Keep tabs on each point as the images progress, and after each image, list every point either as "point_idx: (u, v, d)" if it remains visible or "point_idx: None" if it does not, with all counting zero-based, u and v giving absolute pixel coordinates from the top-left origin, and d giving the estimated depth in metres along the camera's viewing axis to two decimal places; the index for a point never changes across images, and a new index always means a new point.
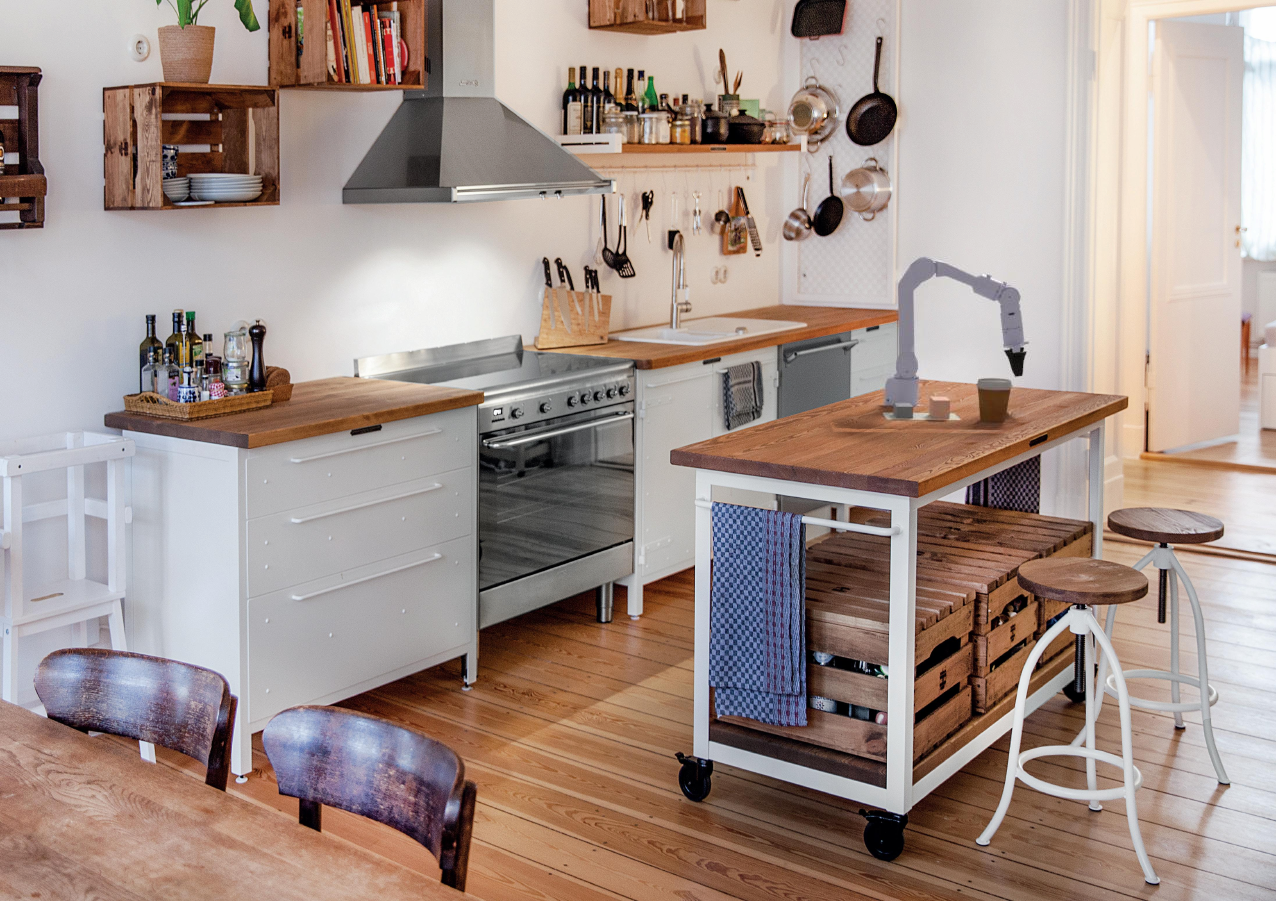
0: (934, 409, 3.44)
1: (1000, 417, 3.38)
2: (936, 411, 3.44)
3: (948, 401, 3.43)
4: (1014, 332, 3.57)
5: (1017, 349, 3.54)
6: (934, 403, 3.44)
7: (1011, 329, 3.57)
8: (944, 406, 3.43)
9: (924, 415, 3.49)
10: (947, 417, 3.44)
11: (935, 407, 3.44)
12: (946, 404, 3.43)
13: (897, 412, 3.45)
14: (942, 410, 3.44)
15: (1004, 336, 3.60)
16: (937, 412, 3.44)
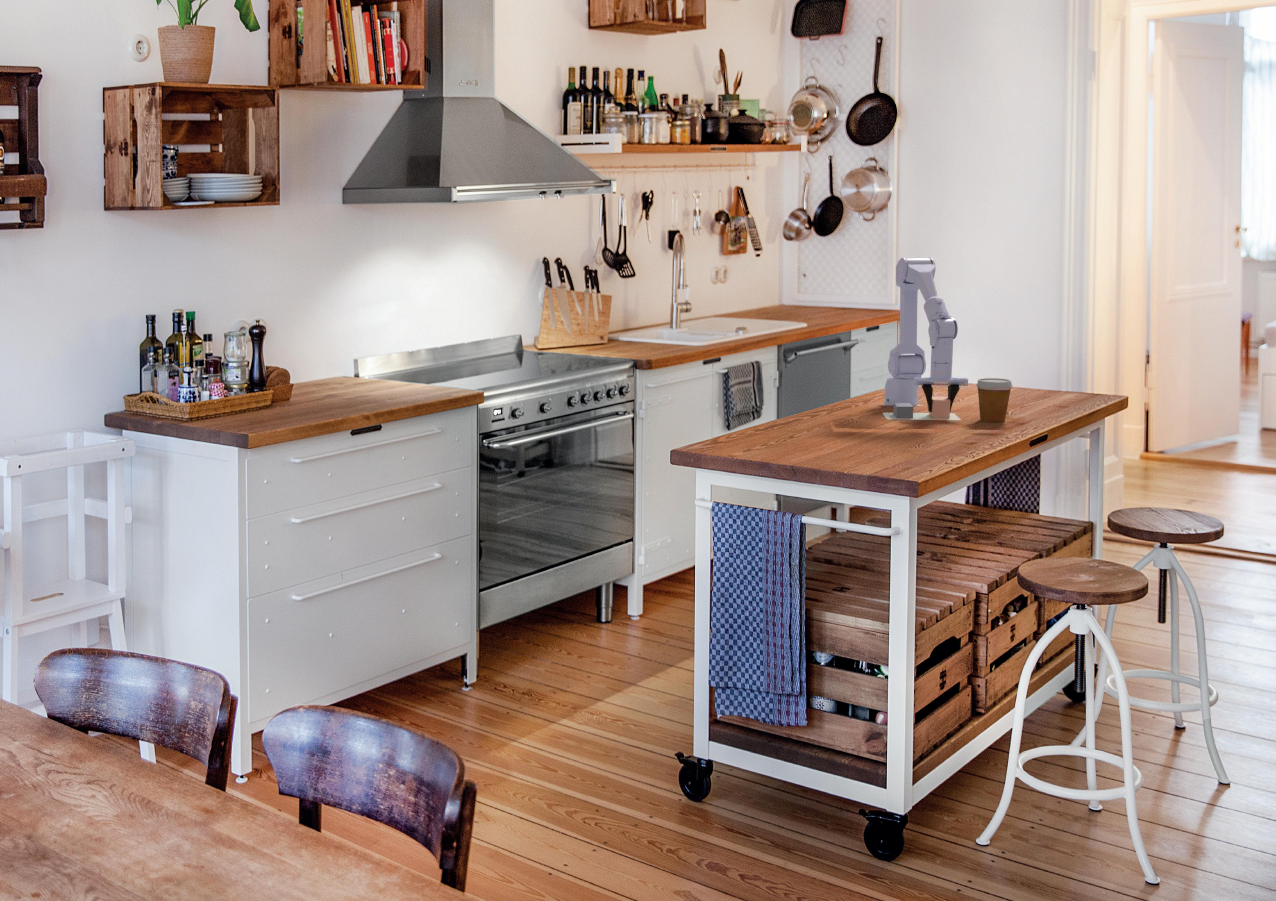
0: (934, 409, 3.44)
1: (1000, 417, 3.38)
2: (936, 411, 3.44)
3: (948, 401, 3.43)
4: (931, 366, 3.45)
5: (914, 382, 3.46)
6: (934, 403, 3.44)
7: (931, 362, 3.45)
8: (944, 406, 3.43)
9: (924, 415, 3.49)
10: (947, 417, 3.44)
11: (935, 407, 3.44)
12: (946, 404, 3.43)
13: (897, 412, 3.45)
14: (942, 410, 3.44)
15: None
16: (937, 412, 3.44)
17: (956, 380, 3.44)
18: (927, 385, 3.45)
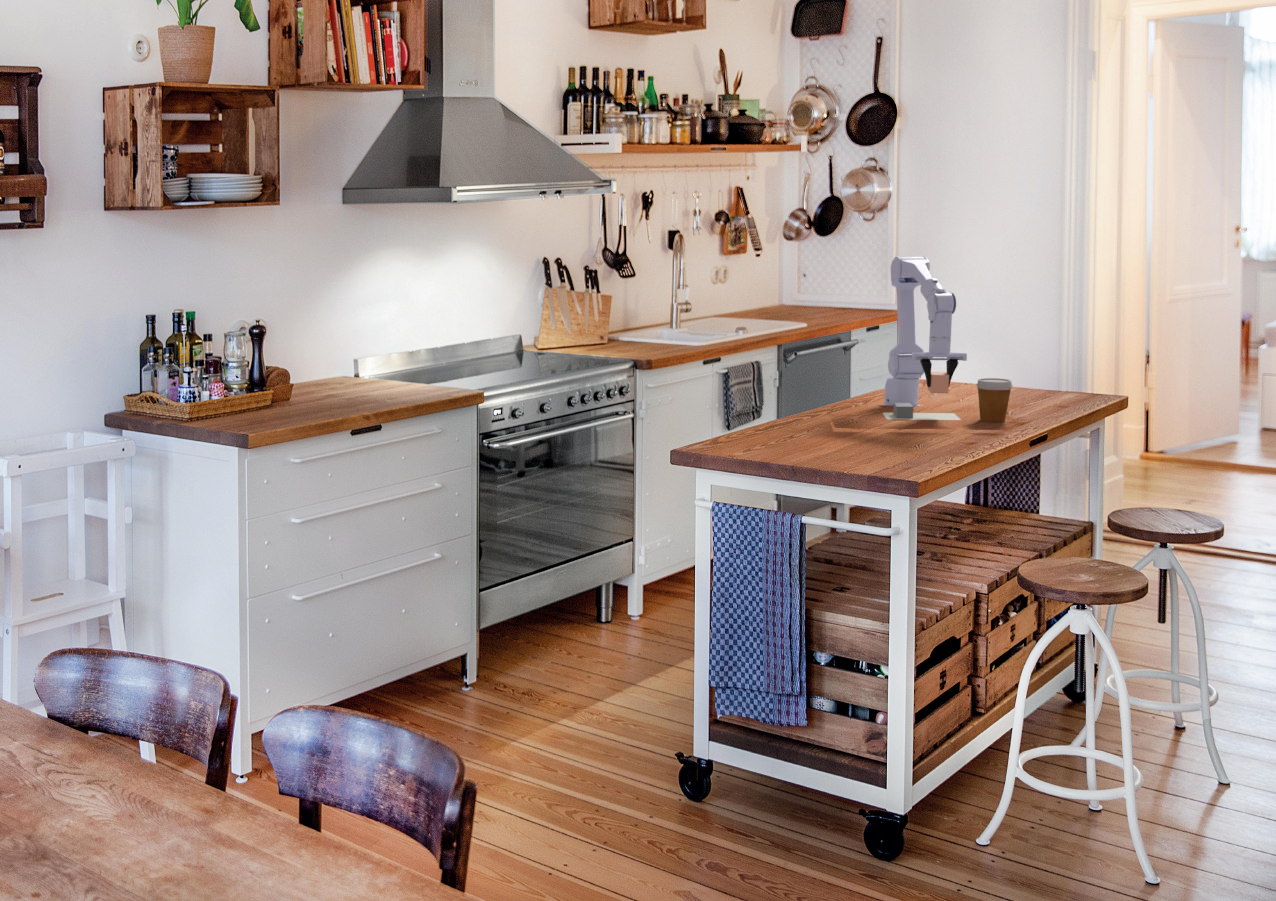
0: (933, 383, 3.43)
1: (1000, 417, 3.38)
2: (935, 386, 3.43)
3: (947, 376, 3.42)
4: (929, 341, 3.44)
5: (912, 357, 3.45)
6: (933, 378, 3.42)
7: None
8: (943, 380, 3.42)
9: (924, 415, 3.49)
10: (946, 392, 3.43)
11: (934, 382, 3.42)
12: (945, 379, 3.42)
13: (897, 412, 3.45)
14: (941, 385, 3.42)
15: None
16: (936, 386, 3.43)
17: (955, 355, 3.42)
18: (926, 360, 3.44)
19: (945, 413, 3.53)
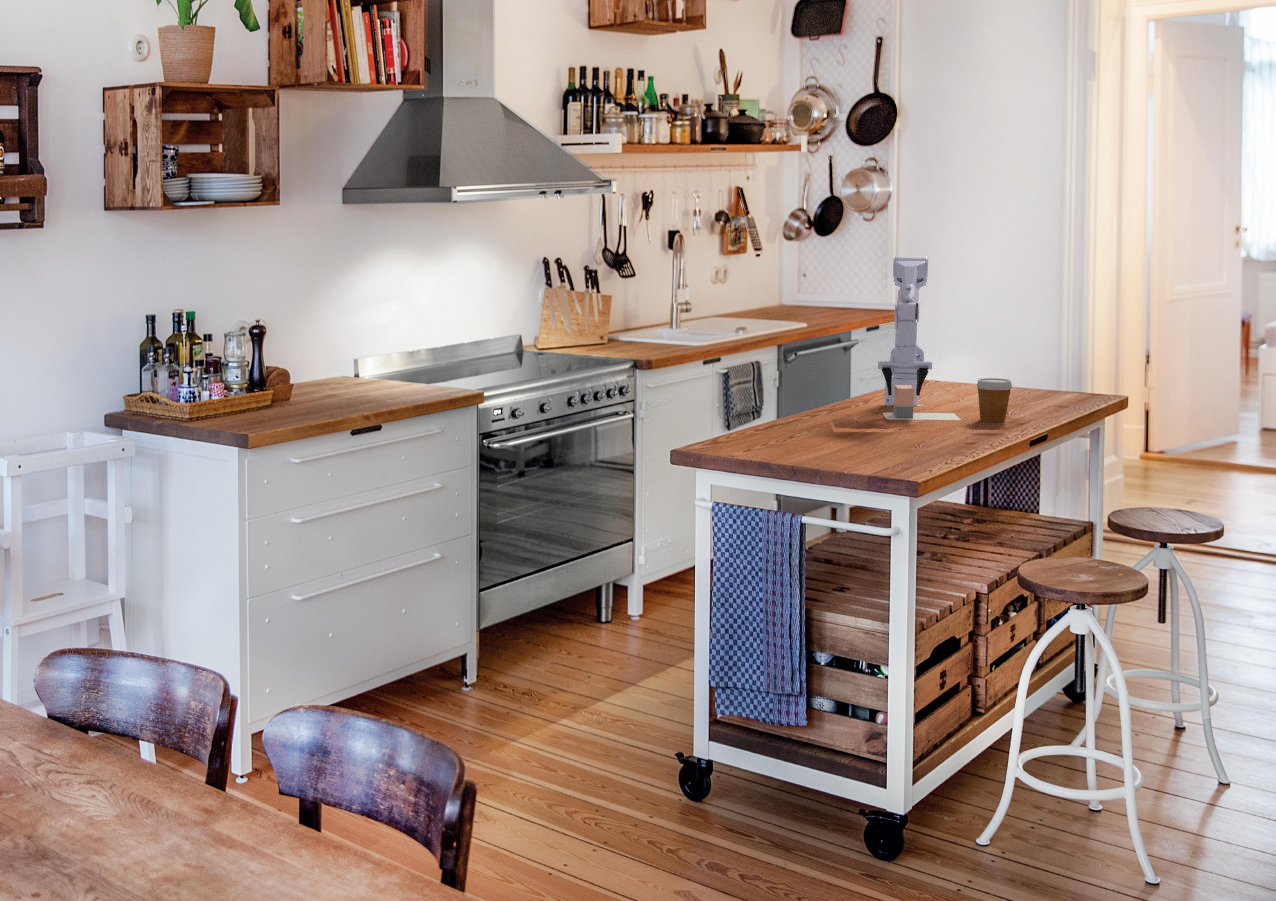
0: (898, 397, 3.44)
1: (1000, 417, 3.38)
2: (900, 399, 3.44)
3: (912, 389, 3.43)
4: (895, 350, 3.45)
5: (878, 365, 3.46)
6: (898, 391, 3.44)
7: (895, 346, 3.45)
8: (908, 394, 3.44)
9: (924, 415, 3.49)
10: (911, 405, 3.44)
11: (899, 395, 3.44)
12: (910, 393, 3.43)
13: (897, 412, 3.45)
14: (906, 398, 3.44)
15: None
16: (901, 400, 3.44)
17: (920, 363, 3.44)
18: (891, 368, 3.45)
19: (945, 413, 3.53)
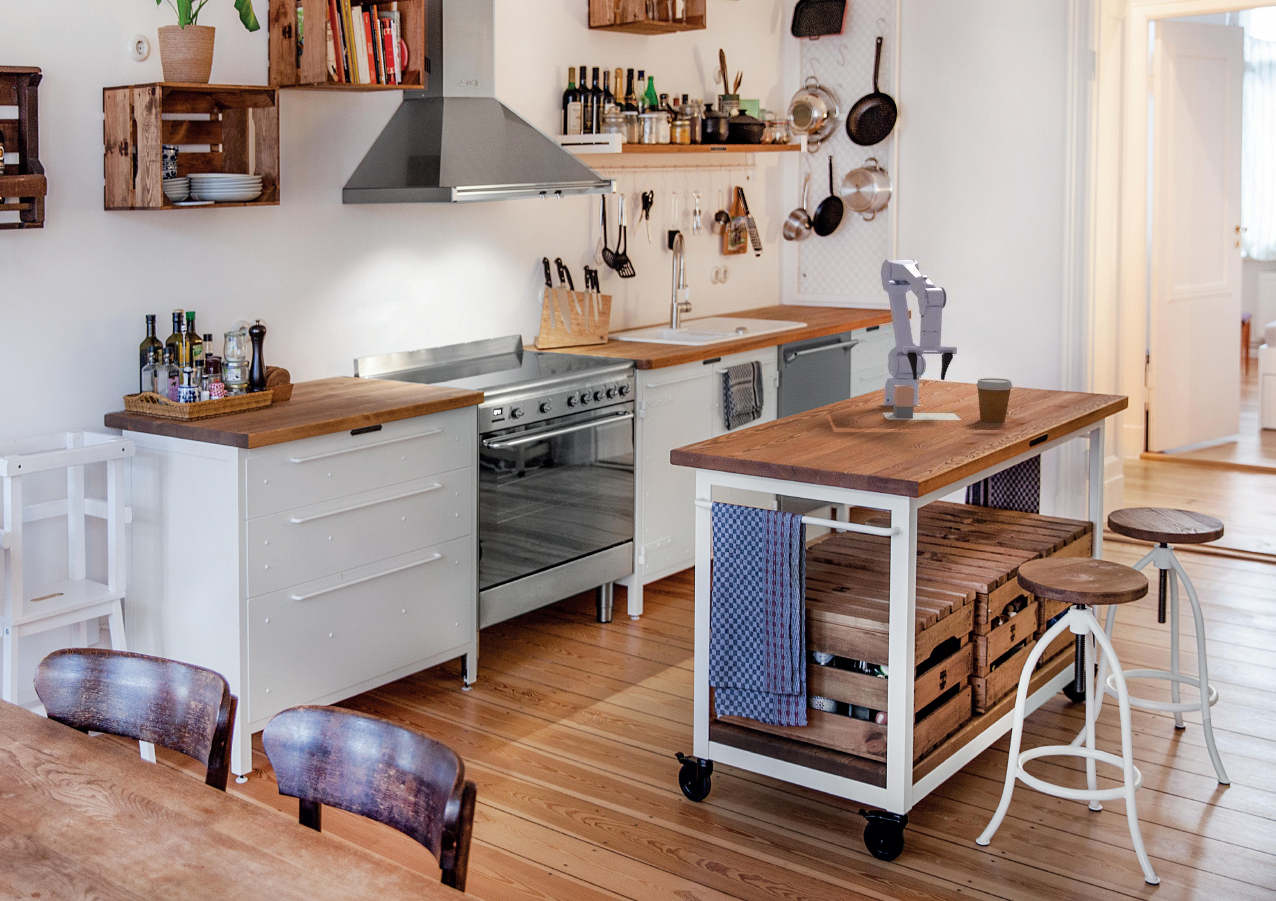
0: (898, 397, 3.44)
1: (1000, 417, 3.38)
2: (900, 399, 3.44)
3: (912, 389, 3.43)
4: (920, 335, 3.50)
5: (903, 350, 3.52)
6: (898, 391, 3.44)
7: (920, 331, 3.51)
8: (908, 394, 3.44)
9: (924, 415, 3.49)
10: (911, 405, 3.44)
11: (899, 395, 3.44)
12: (910, 393, 3.43)
13: (897, 412, 3.45)
14: (906, 398, 3.44)
15: None
16: (901, 400, 3.44)
17: (945, 348, 3.49)
18: (916, 353, 3.51)
19: (945, 413, 3.53)
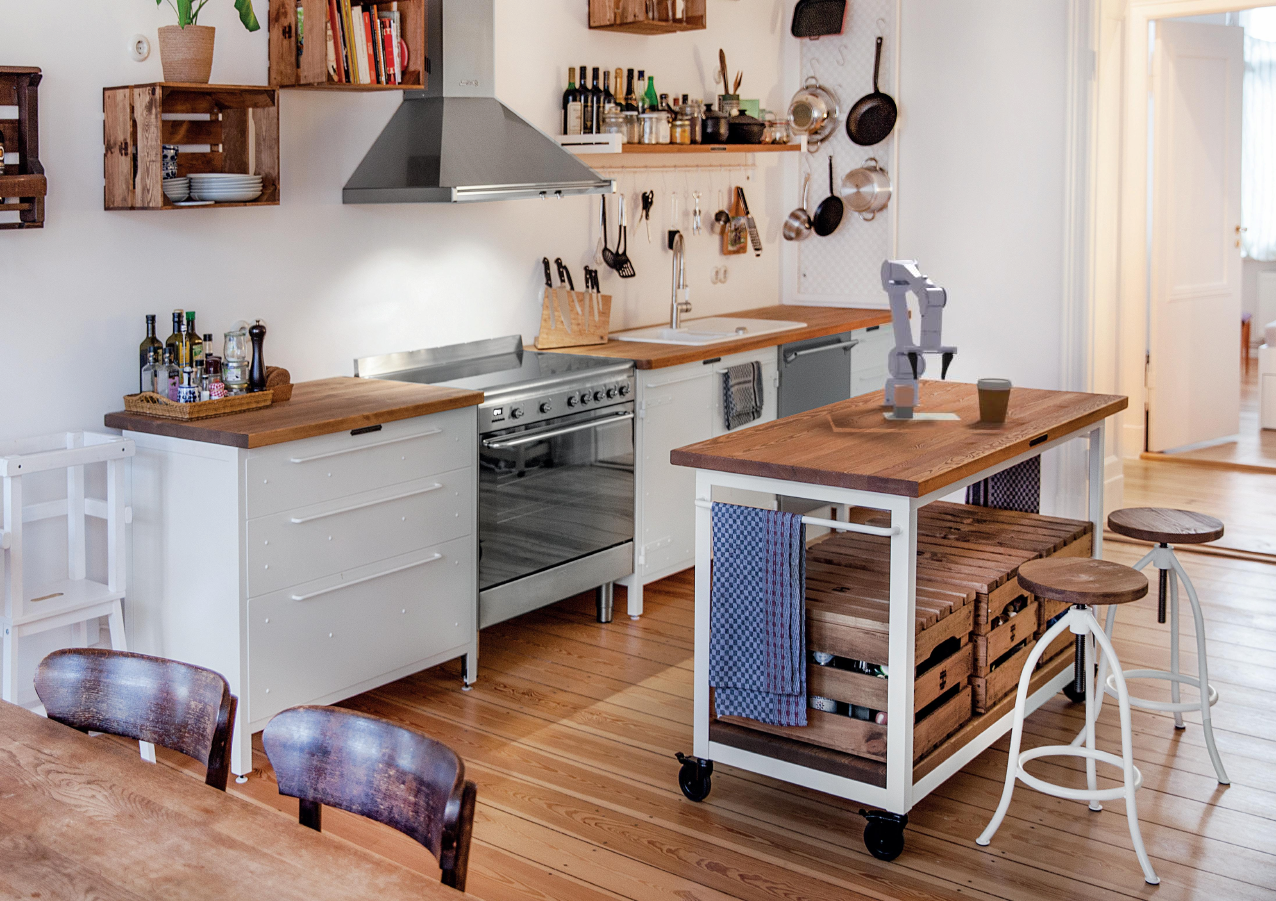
0: (898, 397, 3.44)
1: (1000, 417, 3.38)
2: (900, 399, 3.44)
3: (912, 389, 3.43)
4: (920, 335, 3.51)
5: (904, 350, 3.52)
6: (898, 391, 3.44)
7: None
8: (908, 394, 3.44)
9: (924, 415, 3.49)
10: (911, 405, 3.44)
11: (899, 395, 3.44)
12: (910, 393, 3.43)
13: (897, 412, 3.45)
14: (906, 398, 3.44)
15: None
16: (901, 400, 3.44)
17: (945, 348, 3.49)
18: (917, 353, 3.51)
19: (945, 413, 3.53)
